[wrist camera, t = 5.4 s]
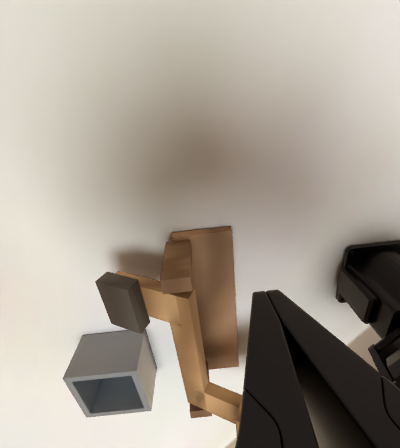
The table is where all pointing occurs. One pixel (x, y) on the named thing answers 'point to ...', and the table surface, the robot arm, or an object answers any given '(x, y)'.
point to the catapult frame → (206, 291)
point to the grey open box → (112, 373)
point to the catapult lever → (181, 329)
